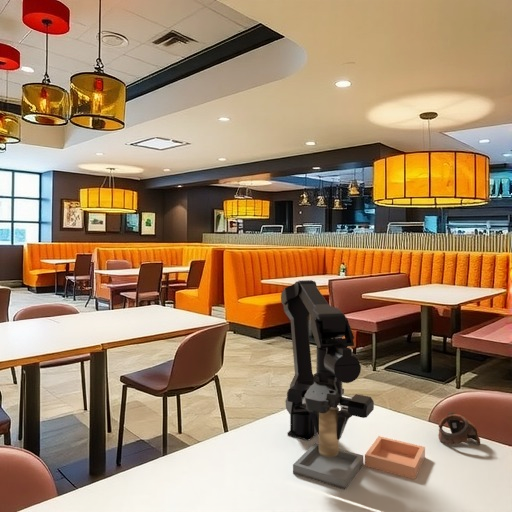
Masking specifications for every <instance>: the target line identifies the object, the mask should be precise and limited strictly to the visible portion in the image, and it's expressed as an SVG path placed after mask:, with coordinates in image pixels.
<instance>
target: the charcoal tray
mask: <svg viewBox="0 0 512 512" xmlns="http://www.w3.org/2000/svg"><path fill="white" fill-rule="evenodd" d="M363 465H364V455H363V454H360V453H355V452H352V451H350V450H349V451H348V450H344V449H341V448H339V453H338V455H337V456H334V457H326V456H323V455H321V454H320V453H319V442H318V443H317V442H314V443H313V444H312V445H311V446H310V447H309V448H308V449H307V450H306V451H305V452H304V453H303V454H302V455H301V456H300V457H299V458H298V459H297V460H296V461H295V462H294V463H293V464H292V474H293V475H297V476H300V477H304V478H305V479H309V480H313V481H316V482H319V483H322V484H325V485H329V486H331V487H336V488H338V489H341V490H346V489H347V488H348V486H349V485H350V484H351V482H353V481H352V480H353V479H354V478H355V476H356V475H357V474H358V473H359V471H360V470H361V468H362V467H363Z"/></svg>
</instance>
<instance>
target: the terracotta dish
mask: <svg viewBox="0 0 512 512" xmlns="http://www.w3.org/2000/svg"><path fill="white" fill-rule="evenodd" d="M425 458H426V446H423V445H420V444H419V445H418V444H414V443H410V442H405V441H401V440H397V439H393V438H388V437H384V436H381V435H378V436H377V438H376V439H375V441H374V442H373V443H372V444H371V446H370V447H369V448H368V450H367V451H366V453H365V454H364V466H365V467H369V468H372V469H375V470H378V471H383V472H387V473H389V474H390V473H391V474H394V475H398V476H401V477H405V478H408V479H411V480H416V477H417V476H418V473H419V471H420V469H421V468H422V465H423V462H424V461H425Z"/></svg>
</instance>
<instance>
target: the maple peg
mask: <svg viewBox="0 0 512 512" xmlns="http://www.w3.org/2000/svg"><path fill="white" fill-rule="evenodd" d="M339 411H340V408H339V407H338V406H337V408H333V407H331V408H329V410H328V412H326V413H320V412H319V435H318V444H319V453H320V454H321V455H323V456H326V457H334V456H337V455H338V453H339V449H340V448H339V447H340V446H339V445H340V444H339V443H340V442H339V441H340V439H339V440H337V426H338V417H337V413H338V412H339Z"/></svg>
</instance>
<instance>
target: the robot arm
mask: <svg viewBox="0 0 512 512" xmlns="http://www.w3.org/2000/svg"><path fill="white" fill-rule="evenodd" d="M280 300H281V304H282V305H283V313H285V315H286V316H287V317H288V319H289V320H290V330H291V341H292V343H291V344H292V352H293V353H292V356H293V366H294V375H293V378H292V379H291V382H290V384H289V388H288V390H287V392H286V399H285V409H286V410H287V413H288V414H289V415H290V416H289V417H290V418H289V419H290V421H289V422H290V425H289V426H290V427H289V429H290V430H289V431H288V432H287V433H286V434H287V436H291V437H294V438H297V439H302V440H305V441H311V439H313V438H314V437H315V436H316V435H317V436H319V412H320V413H326V412H328V410H329V408H331V407H333V408H337V407H338V406H339V407H340V408H339V412H338V413H337V417H338V426H337V440H339V441H340V439H341V438H342V435H343V433H344V431H345V428H346V426H347V423H348V421H349V419H350V418H351V417H353V416H354V417H358V418H362V419H364V418H368V416H369V415H370V414H372V412H373V411H374V409H375V402H374V399H373V398H372V397H371V396H368V395H363V394H357V393H355V394H354V395H353V396H352V397H345V396H343V395H344V394H345V393H344V392H345V389H344V388H343V384H349V383H353V382H355V381H356V380H357V379H358V378H359V376H360V374H361V371H362V365H361V362H360V361H359V359H358V358H357V357H356V356H355V355H353V353H352V351H353V350H352V349H351V348H350V347H354V346H355V342H354V339H355V337H354V336H355V335H354V333H353V331H352V328H351V325H350V323H349V320H348V318H347V316H346V315H345V314H344V312H342V310H340V309H339V308H338V307H335V306H332V305H330V304H329V303H328V301H327V300H326V298H325V297H324V296H323V293H321V291H320V290H319V289H318V286H317V283H316V281H315V280H313V279H311V280H310V279H309V280H308V279H307V280H306V279H305V280H298V281H295V282H294V283H293V284H291V285H289V286H287V287H284V289H283V290H282V292H281V293H280ZM309 316H310V317H311V319H310V320H311V321H310V330H311V334H312V335H313V338H314V343H315V344H316V358H315V359H316V360H315V361H316V364H315V365H316V366H315V367H316V369H315V371H316V372H315V373H314V374H313V365H312V355H311V344H310V343H311V342H310V332H309V323H308V318H309Z"/></svg>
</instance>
